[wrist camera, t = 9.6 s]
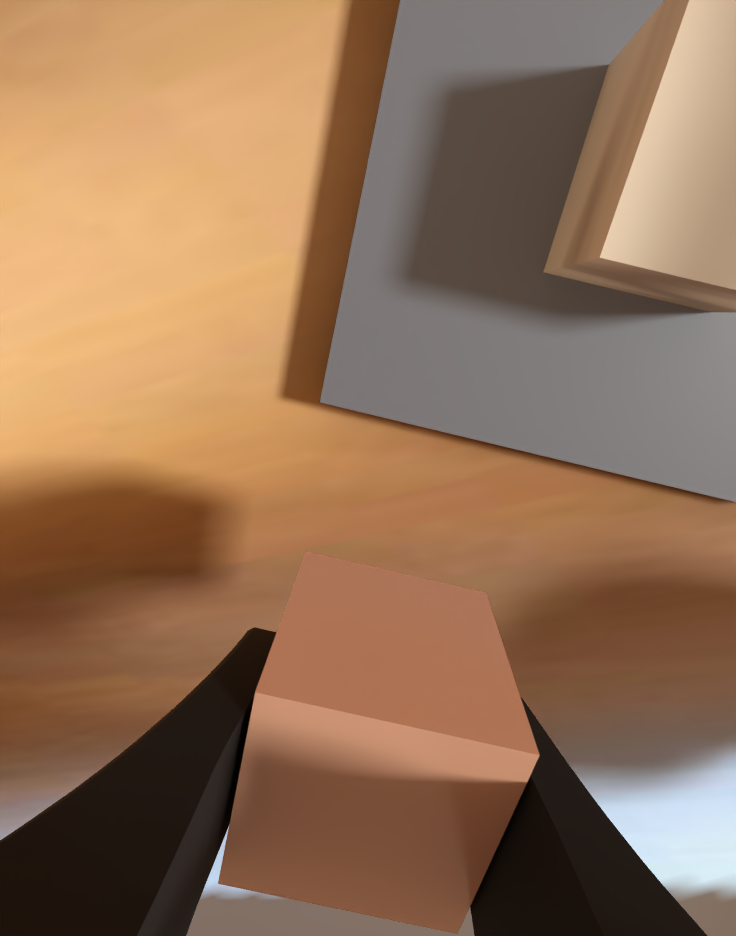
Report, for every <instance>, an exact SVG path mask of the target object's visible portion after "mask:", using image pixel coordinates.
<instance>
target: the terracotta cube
mask: <svg viewBox="0 0 736 936" xmlns="http://www.w3.org/2000/svg"><path fill="white" fill-rule="evenodd" d="M539 756H540V755H539V752H538V749H537V746H536V743H535V739H534V736H533V733H532V730H531V727H530V724H529V721H528V718H527V715H526V712H525V709H524V706H523V703H522V700H521V697H520V694H519V691H518V688H517V685H516V682H515V679H514V676H513V673H512V670H511V667H510V664H509V661H508V658H507V655H506V652H505V649H504V646H503V643H502V640H501V637H500V634H499V630H498V627H497V624H496V621H495V618H494V615H493V612H492V609H491V606H490V603H489V600H488V597H487V594H486V593H485V592H481V591H477V590H472V589H468V588H464V587H459V586H455V585H451V584H446V583H442V582H437V581H433V580H429V579H424V578H420V577H416V576H411V575H407V574H403V573H398V572H394V571H390V570H385V569H381V568H376V567H372V566H368V565H363V564H359V563H355V562H350V561H346V560H342V559H337V558H333V557H328V556H324V555H320V554H315V553H311V552H307V551H306V552H305V555H304V558H303V561H302V564H301V566H300V569H299V572H298V575H297V577H296V580H295V583H294V586H293V589H292V591H291V594H290V597H289V600H288V602H287V605H286V608H285V611H284V614H283V616H282V619H281V622H280V625H279V627H278V630H277V633H276V636H275V639H274V641H273V644H272V647H271V650H270V652H269V655H268V658H267V661H266V664H265V666H264V669H263V672H262V675H261V677H260V680H259V683H258V686H257V689H256V691H255V696H254V701H253V706H252V711H251V716H250V721H249V727H248V732H247V737H246V742H245V747H244V752H243V758H242V763H241V768H240V773H239V778H238V783H237V789H236V794H235V799H234V804H233V809H232V814H231V820H230V825H229V830H228V835H227V840H226V845H225V850H224V856H223V861H222V866H221V871H220V876H219V881H218V884H222V885H227V886H232V887H237V888H241V889H246V890H251V891H256V892H260V893H265V894H270V895H275V896H279V897H284V898H289V899H294V900H298V901H303V902H308V903H313V904H317V905H322V906H327V907H332V908H336V909H341V910H346V911H351V912H356V913H360V914H365V915H370V916H375V917H379V918H385V919H389V920H393V921H398V922H403V923H408V924H413V925H417V926H422V927H427V928H431V929H436V930H441V931H446V932H451V933H456V934H458V931H459V929H460V927H461V925H462V923H463V921H464V918H465V916H466V914H467V912H468V910H469V908H470V905H471V903H472V901H473V899H474V897H475V895H476V892H477V890H478V888H479V886H480V884H481V882H482V879H483V877H484V875H485V873H486V871H487V869H488V866H489V864H490V862H491V860H492V858H493V856H494V853H495V851H496V849H497V847H498V845H499V843H500V840H501V838H502V836H503V834H504V832H505V830H506V827H507V825H508V823H509V821H510V819H511V817H512V814H513V812H514V810H515V808H516V806H517V803H518V801H519V799H520V797H521V795H522V793H523V790H524V788H525V786H526V784H527V782H528V780H529V777H530V775H531V773H532V771H533V769H534V767H535V764H536V762H537V760H538V758H539Z"/></svg>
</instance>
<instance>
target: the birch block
mask: <svg viewBox="0 0 736 936" xmlns="http://www.w3.org/2000/svg"><path fill="white" fill-rule="evenodd" d="M544 273H548V274H552V275H556V276H561V277H565V278H569V279H573V280H578V281H582V282H586V283H590V284H594V285H599V286H603V287H607V288H611V289H615V290H620V291H624V292H628V293H632V294H636V295H641V296H645V297H649V298H653V299H657V300H662V301H666V302H670V303H674V304H678V305H683V306H687V307H691V308H695V309H699V310H704V311H708V312H736V0H664V1H663V3H662V4H661V5H660V6H659V7H658V8H657V10H656V11H655V12H654V13H653V14H652V15H651V17H650V18H649V19H648V20H647V21H646V22H645V23H644V25H643V26H642V27H641V28H640V29H639V30H638V32H637V33H636V34H635V35H634V36H633V37H632V39H631V40H630V41H629V42H628V43H627V44H626V45H625V47H624V48H623V49H622V50H621V51H620V52H619V54H618V55H617V56H616V57H615V58H614V59H613V61H612V62H611V63H610V64H609V66H608V69H607V73H606V76H605V79H604V82H603V85H602V88H601V92H600V95H599V98H598V101H597V104H596V107H595V111H594V114H593V117H592V120H591V123H590V126H589V129H588V133H587V136H586V139H585V142H584V145H583V148H582V152H581V155H580V158H579V161H578V164H577V167H576V171H575V174H574V177H573V180H572V183H571V186H570V190H569V193H568V196H567V199H566V202H565V205H564V209H563V212H562V215H561V218H560V221H559V224H558V227H557V231H556V234H555V237H554V240H553V243H552V246H551V250H550V253H549V256H548V259H547V262H546V265H545V269H544Z"/></svg>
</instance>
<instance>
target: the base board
mask: <svg viewBox="0 0 736 936" xmlns="http://www.w3.org/2000/svg"><path fill="white" fill-rule="evenodd" d="M663 1H664V0H400V4H399V9H398V14H397V19H396V24H395V29H394V34H393V39H392V44H391V49H390V54H389V59H388V64H387V69H386V74H385V79H384V84H383V89H382V94H381V99H380V104H379V109H378V114H377V119H376V124H375V129H374V134H373V139H372V144H371V149H370V154H369V159H368V164H367V169H366V174H365V179H364V184H363V189H362V194H361V199H360V204H359V209H358V214H357V219H356V224H355V229H354V234H353V239H352V244H351V249H350V254H349V259H348V264H347V269H346V274H345V279H344V284H343V289H342V294H341V299H340V304H339V309H338V314H337V318H336V323H335V328H334V333H333V338H332V343H331V348H330V353H329V358H328V363H327V368H326V373H325V378H324V383H323V388H322V393H321V398H320V403H324V404H329V405H333V406H337V407H341V408H345V409H350V410H354V411H358V412H362V413H366V414H370V415H375V416H379V417H383V418H387V419H391V420H395V421H400V422H404V423H408V424H412V425H416V426H420V427H425V428H429V429H433V430H437V431H441V432H445V433H450V434H454V435H458V436H462V437H466V438H470V439H475V440H479V441H483V442H487V443H491V444H495V445H500V446H504V447H508V448H512V449H516V450H521V451H525V452H529V453H533V454H537V455H541V456H546V457H550V458H554V459H558V460H562V461H566V462H571V463H575V464H579V465H583V466H587V467H591V468H596V469H600V470H604V471H608V472H612V473H616V474H621V475H625V476H629V477H633V478H637V479H641V480H646V481H650V482H654V483H658V484H662V485H666V486H671V487H675V488H679V489H683V490H687V491H692V492H696V493H700V494H704V495H708V496H712V497H717V498H721V499H725V500H729V501H733V502H736V312H708V311H704V310H699V309H695V308H691V307H687V306H683V305H678V304H674V303H670V302H666V301H662V300H657V299H653V298H649V297H645V296H641V295H636V294H632V293H628V292H624V291H620V290H615V289H611V288H607V287H603V286H599V285H594V284H590V283H586V282H582V281H578V280H573V279H569V278H565V277H561V276H556V275H552V274H548V273H544V269H545V265H546V262H547V259H548V256H549V253H550V250H551V246H552V243H553V240H554V237H555V234H556V231H557V227H558V224H559V221H560V218H561V215H562V212H563V209H564V205H565V202H566V199H567V196H568V193H569V190H570V186H571V183H572V180H573V177H574V174H575V171H576V167H577V164H578V161H579V158H580V155H581V152H582V148H583V145H584V142H585V139H586V136H587V133H588V129H589V126H590V123H591V120H592V117H593V114H594V111H595V107H596V104H597V101H598V98H599V95H600V92H601V88H602V85H603V82H604V79H605V76H606V73H607V69H608V66H609V64H610V63H611V62H612V61H613V59H614V58H615V57H616V56H617V55H618V54H619V52H620V51H621V50H622V49H623V48H624V47H625V45H626V44H627V43H628V42H629V41H630V40H631V39H632V37H633V36H634V35H635V34H636V33H637V32H638V30H639V29H640V28H641V27H642V26H643V25H644V23H645V22H646V21H647V20H648V19H649V18H650V17H651V15H652V14H653V13H654V12H655V11H656V10H657V8H658V7H659V6H660V5H661V4H662V3H663Z"/></svg>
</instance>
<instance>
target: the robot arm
mask: <svg viewBox="0 0 736 936" xmlns="http://www.w3.org/2000/svg"><path fill="white" fill-rule="evenodd" d="M276 633H277V632H272V631H268V630H263V629H259V628H255V627H254V628H252V629H250V630H249V631H247V633H246V634H245V635H244V636H243V638H242V639H241V640H240V641H239V642H238V644H237V645H236V646H235V647H234V648H233V649H232V651H231V652H230V653H229V654H228V655H227V656H226V657H225V658H224V659H223V660H222V661H221V663H220V664H219V665H218V666H217V667H216V668H215V669H214V670H213V671H212V672H211V673H210V674H209V675H208V676H207V677H206V678H205V679H204V680H203V681H202V682H201V683H200V684H199V685H198V686H197V687H196V688H195V689H194V690H193V691H192V692H191V693H190V694H189V695H187V696H186V697H185V698H184V699H183V700H182V701H181V702H180V703H179V704H178V705H177V706H176V707H175V708H174V709H172V710H171V711H170V712H169V713H168V714H167V715H166V716H164V717H163V718H162V719H161V720H160V721H159V722H158V723H156V724H155V725H154V726H153V727H152V728H151V729H150V730H148V731H147V732H146V733H145V734H144V735H143V736H142V737H140V738H139V739H138V740H137V741H136V742H134V743H133V744H132V745H131V746H130V747H128V748H127V749H126V750H125V751H123V752H122V753H121V754H120V755H119V756H117V757H116V758H115V759H113V760H112V761H111V762H110V763H108V764H107V765H106V766H105V767H103V768H102V769H101V770H99V771H98V772H97V773H95V774H94V775H93V776H91V777H90V778H89V779H87V780H86V781H85V782H83V783H82V784H81V785H79V786H78V787H77V788H75V789H74V790H73V791H71V792H70V793H68V794H67V795H66V796H64V797H63V798H61V799H60V800H58V801H57V802H56V803H54V804H53V805H51V806H50V807H48V808H47V809H46V810H44V811H43V812H41V813H40V814H39V815H37V816H36V817H34V818H33V819H31V820H30V821H29V822H27V823H26V824H24V825H23V826H21V827H20V828H18V829H17V830H15V831H14V832H12V833H11V834H9V835H8V836H6V837H5V838H3V839H2V840H0V936H186V934H187V932H188V929H189V926H190V923H191V920H192V918H193V915H194V912H195V910H196V906H197V904H198V902H199V899H200V897H201V894H202V892H203V889H204V886H205V884H206V881H207V879H208V876H209V874H210V871H211V869H212V866H213V864H214V861H215V859H216V856H217V854H218V851H219V849H220V846H221V844H222V841H223V839H224V836H225V834H226V831H227V829H228V826H229V824H230V820H231V814H232V809H233V804H234V799H235V794H236V789H237V783H238V778H239V773H240V768H241V763H242V758H243V752H244V747H245V742H246V737H247V732H248V727H249V721H250V716H251V711H252V706H253V701H254V696H255V691H256V689H257V686H258V683H259V680H260V677H261V675H262V672H263V669H264V666H265V664H266V661H267V658H268V655H269V652H270V650H271V647H272V644H273V641H274V639H275V636H276ZM520 697H521V696H520ZM521 700H522V703H523V706H524V709H525V712H526V715H527V718H528V721H529V724H530V727H531V730H532V733H533V736H534V739H535V743H536V746H537V749H538V752H539V755H540V756H539V758H538V760H537V762H536V764H535V767H534V769H533V771H532V773H531V775H530V777H529V780H528V782H527V784H526V786H525V788H524V790H523V793H522V795H521V797H520V799H519V801H518V803H517V806H516V808H515V810H514V812H513V814H512V817H511V819H510V821H509V823H508V825H507V827H506V830H505V832H504V834H503V836H502V838H501V840H500V843H499V845H498V847H497V849H496V851H495V853H494V856H493V858H492V860H491V862H490V864H489V866H488V869H487V871H486V873H485V875H484V877H483V879H482V882H481V884H480V886H479V888H478V890H477V892H476V895H475V897H474V899H473V901H472V903H471V905H470V907H471V914H472V921H473V927H474V935H475V936H707V935H706V934H705V933H704V931H703V930H702V929H701V928H700V927H699V926H698V925H697V924H696V922H695V921H694V920H693V919H692V918H691V917H690V916H689V915H688V914H687V912H686V911H685V910H684V909H683V908H682V907H681V906H680V904H679V903H678V902H677V901H676V900H675V899H674V897H673V896H672V895H671V894H670V893H669V892H668V891H667V889H666V888H665V887H664V886H663V885H662V884H661V883H660V881H659V880H658V879H657V878H656V877H655V875H654V874H653V873H652V872H651V871H650V869H649V868H648V867H647V866H646V865H645V863H644V862H643V861H642V860H641V859H640V857H639V856H638V855H637V854H636V852H635V851H634V850H633V849H632V847H631V846H630V845H629V844H628V842H627V841H626V840H625V838H624V837H623V836H622V835H621V833H620V832H619V831H618V830H617V828H616V827H615V826H614V825H613V823H612V822H611V821H610V820H609V818H608V817H607V816H606V814H605V813H604V812H603V810H602V809H601V808H600V806H599V805H598V804H597V803H596V801H595V800H594V799H593V797H592V796H591V795H590V793H589V792H588V791H587V789H586V788H585V786H584V785H583V784H582V782H581V781H580V780H579V778H578V777H577V776H576V774H575V773H574V771H573V770H572V769H571V767H570V766H569V764H568V763H567V762H566V760H565V759H564V757H563V756H562V755H561V753H560V752H559V750H558V749H557V748H556V746H555V745H554V743H553V742H552V740H551V739H550V738H549V736H548V735H547V733H546V732H545V730H544V729H543V728H542V726H541V725H540V723H539V722H538V720H537V719H536V717H535V716H534V715H533V713H532V712H531V710H530V709H529V707H528V706H527V704H526V703H525V702H524V700H523V699H522V697H521Z"/></svg>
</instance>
